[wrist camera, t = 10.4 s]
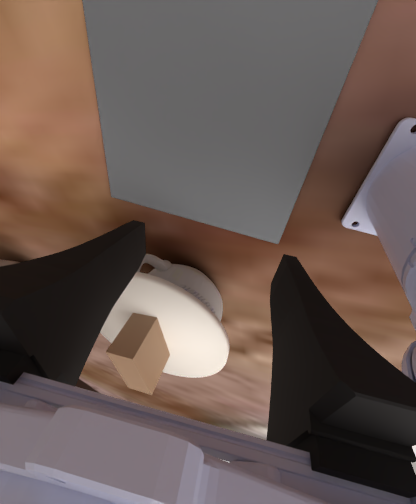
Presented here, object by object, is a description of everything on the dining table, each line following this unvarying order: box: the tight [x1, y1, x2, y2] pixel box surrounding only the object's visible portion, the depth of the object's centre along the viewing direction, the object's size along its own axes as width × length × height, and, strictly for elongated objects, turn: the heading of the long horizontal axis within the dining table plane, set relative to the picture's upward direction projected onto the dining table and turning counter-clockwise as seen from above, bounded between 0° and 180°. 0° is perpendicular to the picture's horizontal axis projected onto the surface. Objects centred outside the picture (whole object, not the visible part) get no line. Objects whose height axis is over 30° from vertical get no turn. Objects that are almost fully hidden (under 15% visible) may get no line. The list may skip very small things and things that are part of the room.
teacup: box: [137, 254, 223, 321], centre depth 26 cm, size 14×11×8 cm
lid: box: [100, 272, 230, 395], centre depth 22 cm, size 15×15×5 cm
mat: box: [82, 0, 378, 244], centre depth 18 cm, size 18×17×1 cm
